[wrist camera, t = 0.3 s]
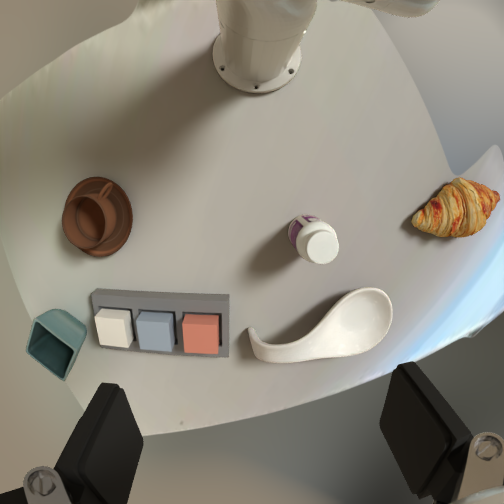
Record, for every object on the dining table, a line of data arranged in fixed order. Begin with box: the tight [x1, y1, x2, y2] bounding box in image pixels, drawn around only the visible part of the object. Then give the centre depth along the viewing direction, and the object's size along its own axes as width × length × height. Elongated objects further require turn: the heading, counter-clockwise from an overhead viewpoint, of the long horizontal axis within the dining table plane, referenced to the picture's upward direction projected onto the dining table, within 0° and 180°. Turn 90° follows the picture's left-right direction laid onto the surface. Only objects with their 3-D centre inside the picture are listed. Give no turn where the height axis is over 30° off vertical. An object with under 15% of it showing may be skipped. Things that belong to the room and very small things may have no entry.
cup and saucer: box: [62, 177, 133, 257], centre depth 40 cm, size 12×12×6 cm
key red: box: [182, 314, 219, 354], centre depth 44 cm, size 5×5×3 cm
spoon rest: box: [248, 287, 392, 363], centre depth 45 cm, size 24×12×7 cm, turn 104°
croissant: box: [411, 177, 500, 237], centre depth 42 cm, size 21×10×8 cm, turn 107°
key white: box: [95, 309, 134, 348], centre depth 43 cm, size 5×5×3 cm
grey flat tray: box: [91, 288, 229, 357], centre depth 46 cm, size 10×22×2 cm, turn 88°
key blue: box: [136, 312, 175, 352], centre depth 44 cm, size 5×5×3 cm
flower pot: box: [26, 309, 87, 381], centre depth 43 cm, size 9×9×9 cm
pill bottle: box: [288, 214, 339, 264], centre depth 40 cm, size 5×5×10 cm
